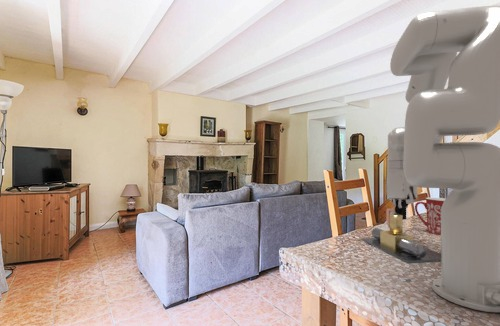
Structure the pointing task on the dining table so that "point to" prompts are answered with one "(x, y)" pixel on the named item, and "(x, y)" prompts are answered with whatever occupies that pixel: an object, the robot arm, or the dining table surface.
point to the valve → (401, 247)
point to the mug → (432, 214)
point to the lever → (394, 221)
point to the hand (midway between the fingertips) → (400, 219)
